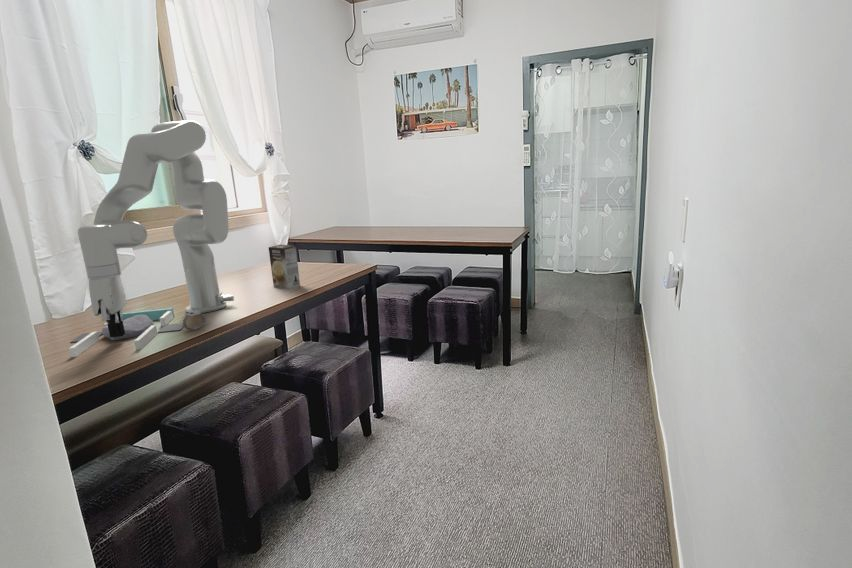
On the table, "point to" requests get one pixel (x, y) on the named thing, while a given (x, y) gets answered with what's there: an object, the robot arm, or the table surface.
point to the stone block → (131, 327)
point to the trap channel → (165, 317)
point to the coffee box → (284, 266)
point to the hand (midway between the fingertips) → (117, 335)
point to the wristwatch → (191, 316)
